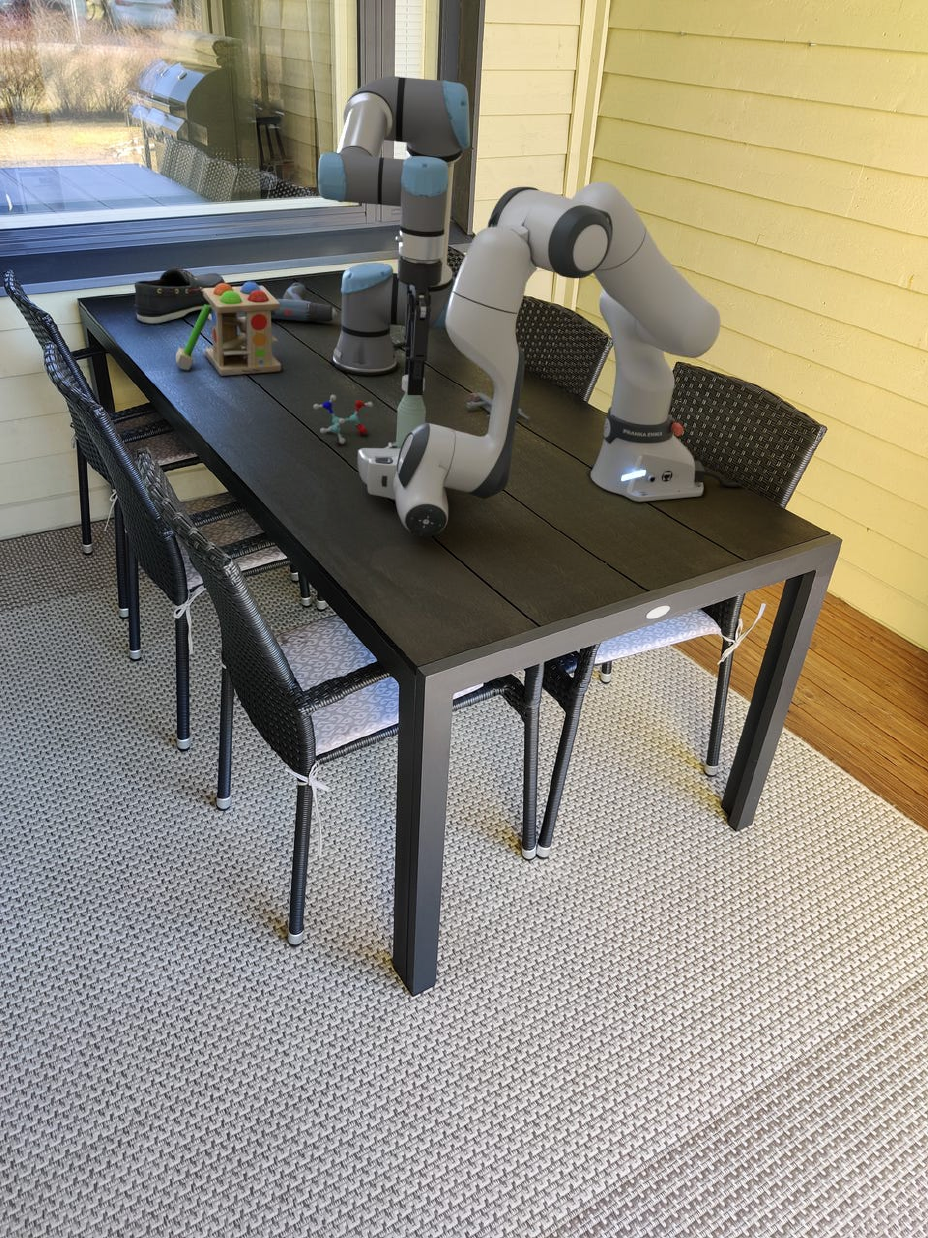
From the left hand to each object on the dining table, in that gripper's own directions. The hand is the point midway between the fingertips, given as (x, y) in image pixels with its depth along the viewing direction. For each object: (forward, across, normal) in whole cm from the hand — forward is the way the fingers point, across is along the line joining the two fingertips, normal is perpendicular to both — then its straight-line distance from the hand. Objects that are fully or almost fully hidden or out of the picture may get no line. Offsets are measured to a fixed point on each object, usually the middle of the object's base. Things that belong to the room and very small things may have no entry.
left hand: (413, 388), depth 180 cm
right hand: (+12, -1, 0) cm, 12 cm away
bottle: (+18, 0, 0) cm, 18 cm away
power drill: (+18, -100, -16) cm, 102 cm away
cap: (-2, 0, 0) cm, 2 cm away
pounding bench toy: (+18, -59, -36) cm, 71 cm away
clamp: (+18, -32, +23) cm, 43 cm away
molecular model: (+18, -20, -12) cm, 29 cm away
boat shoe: (+18, -101, -48) cm, 113 cm away
